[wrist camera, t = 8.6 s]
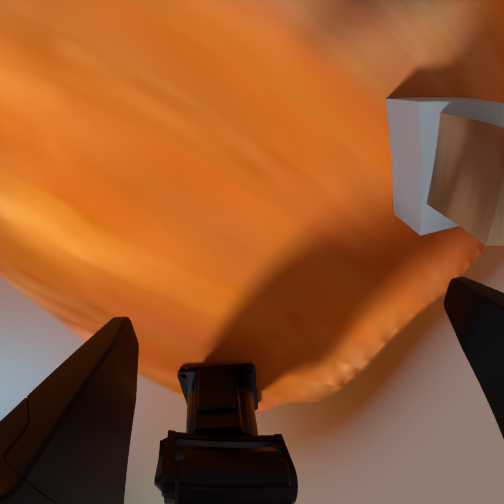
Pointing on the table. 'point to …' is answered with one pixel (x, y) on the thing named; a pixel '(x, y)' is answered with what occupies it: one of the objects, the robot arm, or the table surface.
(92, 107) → the table surface
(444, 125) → the walnut cube
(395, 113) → the plinth block
